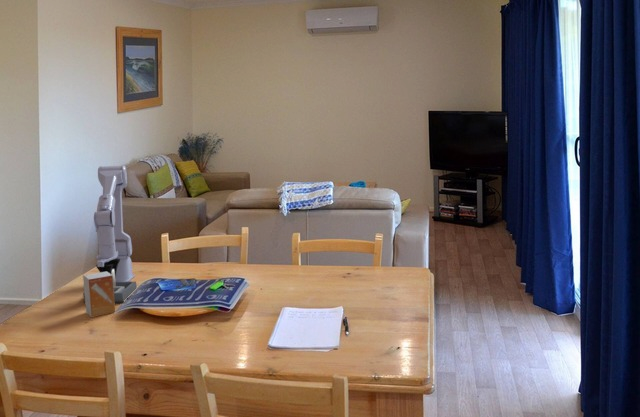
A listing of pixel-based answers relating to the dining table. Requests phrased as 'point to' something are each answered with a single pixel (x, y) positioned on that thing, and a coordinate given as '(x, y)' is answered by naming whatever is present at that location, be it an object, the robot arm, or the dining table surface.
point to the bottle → (113, 277)
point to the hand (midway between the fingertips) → (109, 281)
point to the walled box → (122, 290)
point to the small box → (99, 294)
